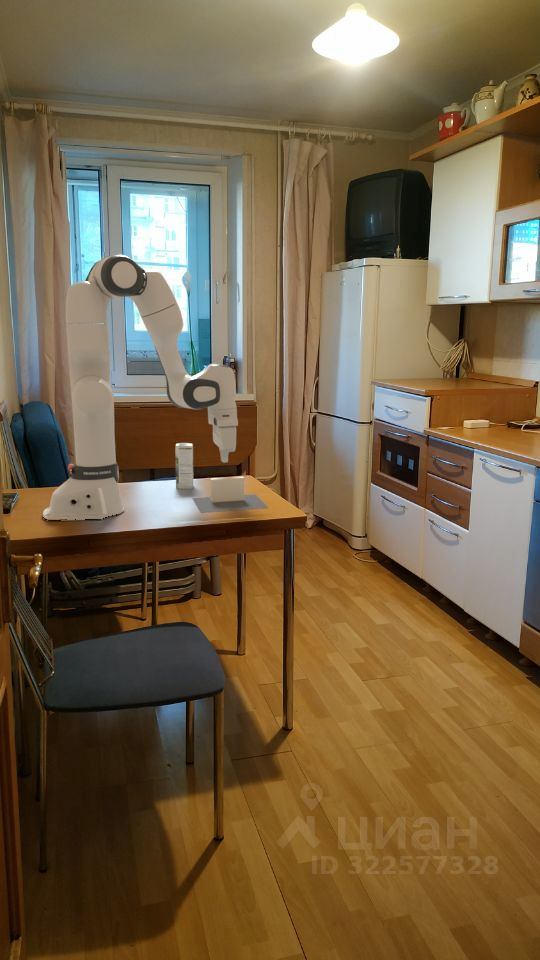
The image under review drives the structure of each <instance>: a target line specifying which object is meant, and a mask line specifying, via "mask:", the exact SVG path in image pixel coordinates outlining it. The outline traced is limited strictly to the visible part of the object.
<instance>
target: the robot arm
mask: <svg viewBox="0 0 540 960" xmlns="http://www.w3.org/2000/svg"><path fill="white" fill-rule="evenodd" d="M124 297H125V298H126V297H127V298H129V299H130V300H131V301H132V302H133V303H134V305H135V306H136V308H137V310H138V313H139V315H140V316H139V317H140V318H141V320H142V323H143V325H144V326H145V328H146V331H147V332H148V335H149V337H150V339H151V342H152V343H153V345H154V349H155V352H156V354H157V357H158V360H159V363H160V366H161V369H162V370H163V374H164V375H165V380H166V382H165V383H166V395H167V399H168V400H169V402H170V403H171V404H172V405H174V406H175V407H177V408H182V409H190V410H191V409H192V410H203V409H205V408H207V419H208V421H207V422H208V424H209V425H212V441H213V443H214V444H215V445H216V446H217V447H218V449H219V454H220V462H222V463H223V464H224V463H228V462H229V453H232V452H235V451H236V448H237V427H238V426H239V419H238V408H237V403H236V395H237V388H236V387H237V386H236V378H235V373H234V370H233V368H231V367H230V366H229V365H226V364H219V363H217V364H216V363H210V364H208V365H207V366H206V367H205V368H204V369H203V370H201V371H200V372H198V373H195V374H194V375H192V376H191V375H190V374H189V373H188V372H187V370H186V369H185V368H186V367H185V366H184V363H183V360H182V356H181V354H180V351H179V348H178V339H179V336H180V334H181V333H182V330H183V328H184V320H183V315H182V312H181V309H180V307H179V304H178V302H177V299H176V297H175V294H174V293H173V291H172V289H171V286H169V283H168V282H167V280H166V279H165V277H164V276H163V274H162V273H161V272H159V271H158V270H155V269H146V270H145V269H144V268H143V267H141V266H140V265H139V264H138V263H137V262H136V261H135V260H133V259H132V258H131V257H128V256H126V255H123V254H114V255H109V256H106V257H103V258H102V259H100V260H98V261H96V262H95V263H94V264H93V265H92V267H91V268H90V269H89V271H88V274H87V276H86V277H85V280H83V281H77V282H75V283H73V284H71V285H70V286H69V287H68V289H67V293H66V298H65V299H66V300H65V326H66V327H65V328H66V341H67V355H68V368H69V369H68V370H69V379H70V380H69V381H70V396H71V408H72V420H73V421H72V423H73V425H72V426H73V437H74V455H75V463H74V464H73V463H70V464H68V466H67V471H68V475H69V477H68V479H67V480H66V481H64V482H63V483H62V484H61V485H59V487H57V488H56V489H55V490H54V491H53V492H52V494H51V497H50V504H49V506H48V507H46V508H45V509H44V510H43V512H42V518H43V517H44V518H46V519H67V520H66V521H86V520H85V519H101V520H104V519H106V518H105V517H107V518H109V517H112V515H113V516H116V514H117V515H119V514H122V513H123V512H124V511H125V507H124V504H123V502H122V498H121V493H120V489H119V479H120V475H119V465H118V462H117V459H116V456H117V455H116V440H115V439H116V437H115V399H114V397H115V396H114V392H113V391H114V390H113V388H112V385H111V365H110V364H111V360H110V359H111V358H110V357H111V355H110V354H111V353H110V351H111V350H110V336H109V324H108V323H109V322H108V321H109V320H108V308H109V307H108V305H109V304H110V303H109V302H110V301H111V300H112V299H122V298H124ZM108 516H109V517H108ZM44 518H43V519H44ZM103 518H104V519H103ZM75 519H76V520H75Z"/></svg>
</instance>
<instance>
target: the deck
mask: <svg viewBox="0 0 540 960" xmlns="http://www.w3.org/2000/svg"><path fill="white" fill-rule="evenodd" d="M209 480H210V483H209V484H210V497H211V502H225V501H241V500H244V495H245V477H244V476H231V477H230V476H229V477H213V478H210V479H209Z"/></svg>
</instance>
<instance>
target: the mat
mask: <svg viewBox="0 0 540 960" xmlns="http://www.w3.org/2000/svg"><path fill="white" fill-rule="evenodd" d="M192 500H193V502H194V504H195V506H196V507H197V509H198V511H199V512H200V513H201V514H202V513H203V514H205V513H214V512H216V513H218V512H230V511H231V512H232V511H233V512H234V511H244V510H245V511H246V510H248V511H249V510H259V509H260V510H262V509H263V510H264V509H269V508H270V507H269V506H268V505H267V504H266V503H265V502H264V501H263V500H262V499H261V498H260V497H259V496H258V495H257V494H256V493H254V494H253V493H252V494H244V500H241V501H225V502H211V496H207V497H205V496H204V497H192Z"/></svg>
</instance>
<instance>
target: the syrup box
mask: <svg viewBox="0 0 540 960" xmlns="http://www.w3.org/2000/svg"><path fill="white" fill-rule="evenodd" d="M174 451H175V452H174V453H175V454H174V455H175V489H177V490H187V489H188V490H189V489H194V444H193V443H189V442H179V443H176V444H175V449H174Z"/></svg>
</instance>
